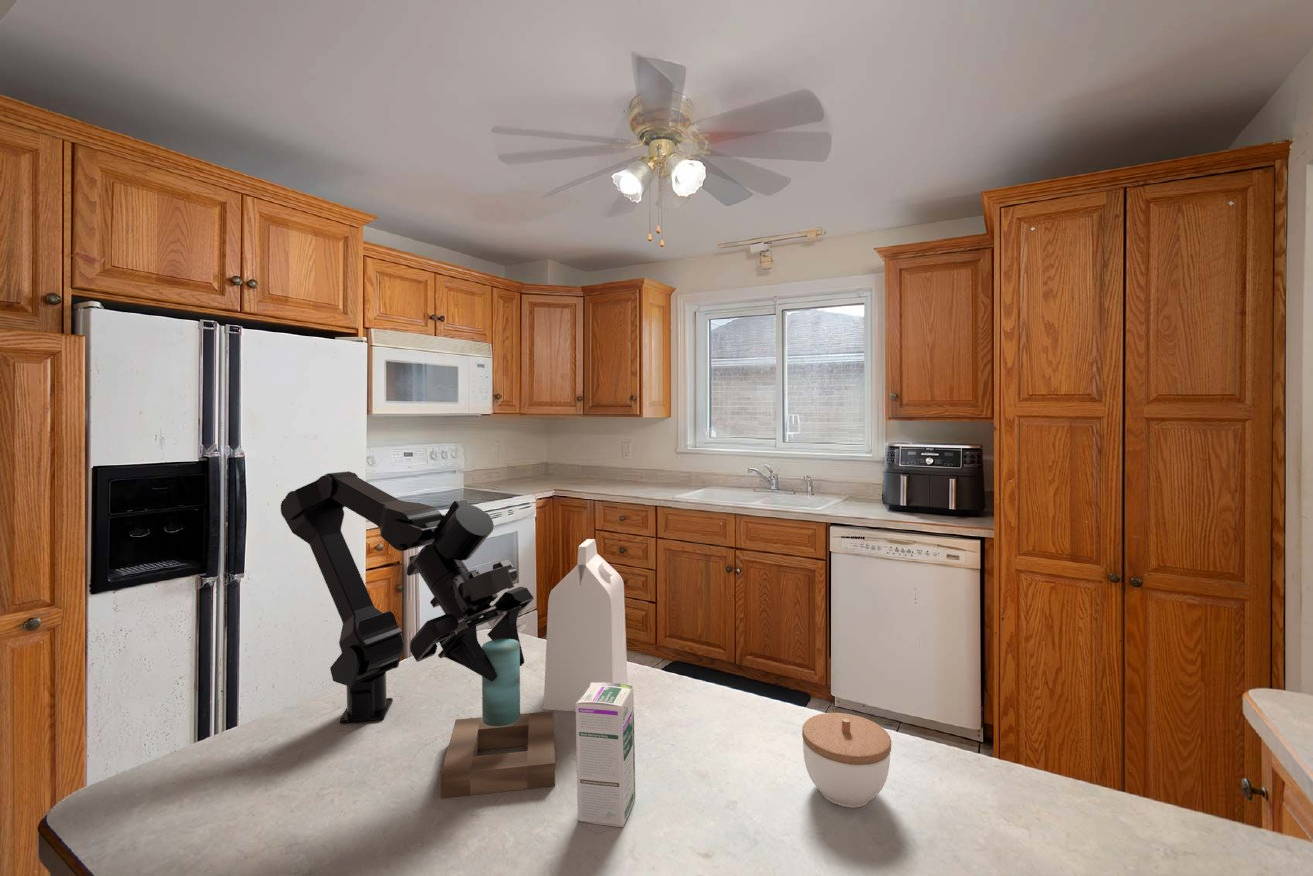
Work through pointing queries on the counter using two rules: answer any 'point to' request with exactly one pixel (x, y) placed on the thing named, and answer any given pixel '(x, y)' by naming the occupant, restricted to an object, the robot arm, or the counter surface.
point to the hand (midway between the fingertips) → (508, 671)
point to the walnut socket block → (499, 756)
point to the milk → (584, 631)
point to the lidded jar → (846, 757)
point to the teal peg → (502, 683)
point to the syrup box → (605, 754)
